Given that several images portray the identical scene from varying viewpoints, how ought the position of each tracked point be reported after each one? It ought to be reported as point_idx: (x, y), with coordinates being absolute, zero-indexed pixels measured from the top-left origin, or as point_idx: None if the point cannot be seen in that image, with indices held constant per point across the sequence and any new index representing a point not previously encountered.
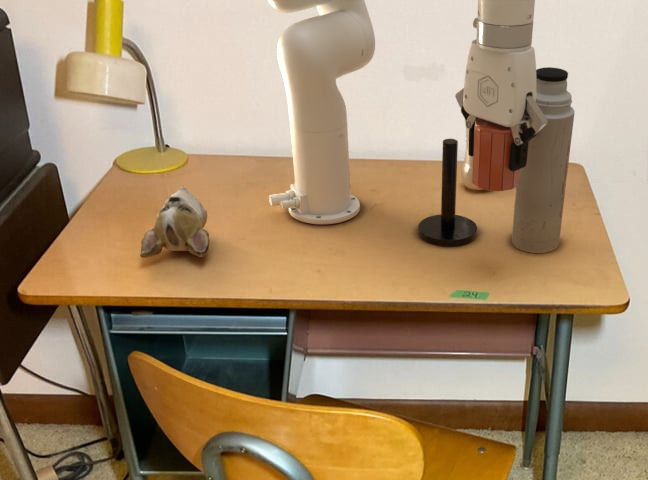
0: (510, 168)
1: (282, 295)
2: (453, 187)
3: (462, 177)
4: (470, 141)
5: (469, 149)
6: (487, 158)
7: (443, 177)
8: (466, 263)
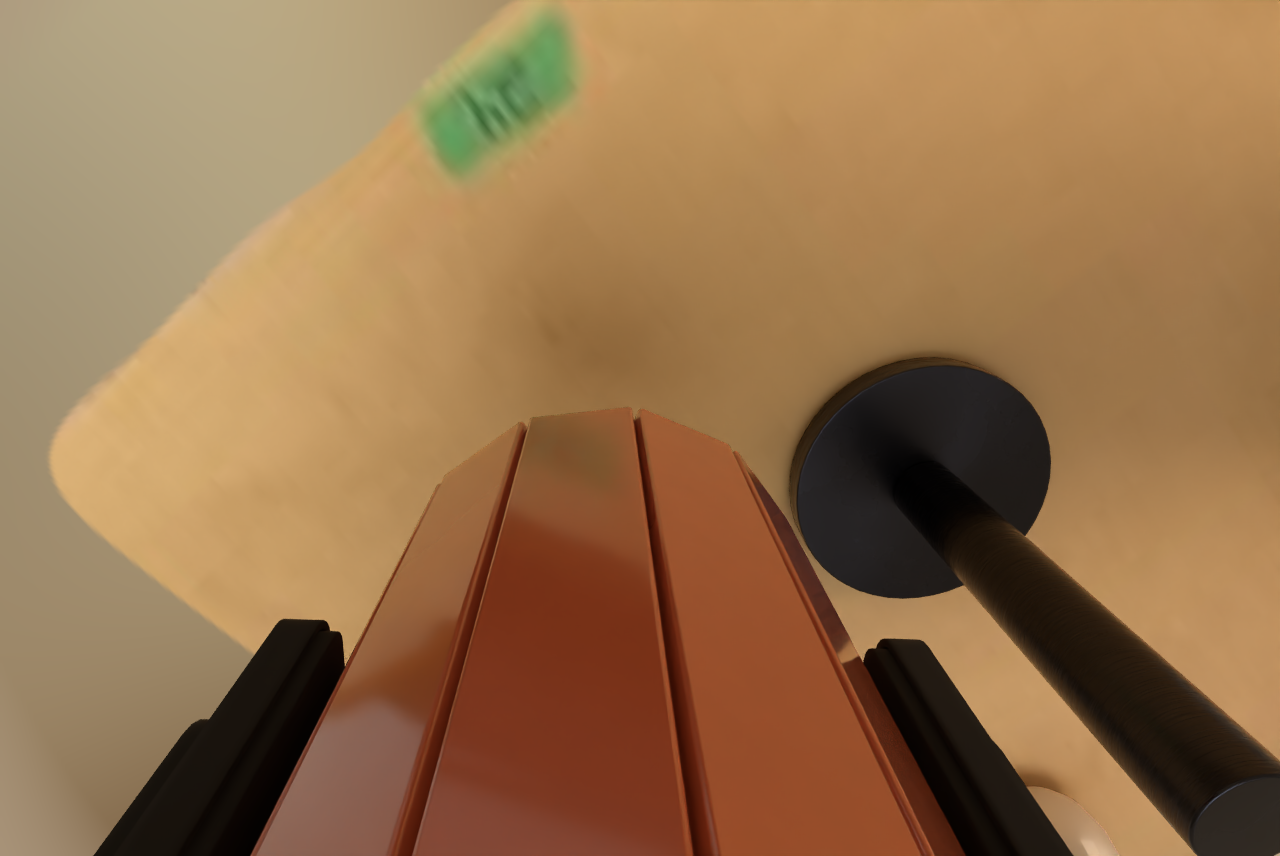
0: (297, 628)
1: None
2: (996, 593)
3: (1087, 813)
4: (974, 756)
5: (936, 680)
6: (531, 564)
7: (1087, 597)
8: (694, 324)
